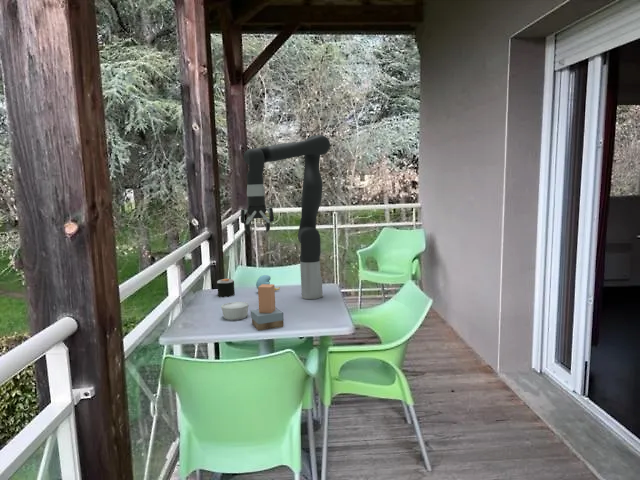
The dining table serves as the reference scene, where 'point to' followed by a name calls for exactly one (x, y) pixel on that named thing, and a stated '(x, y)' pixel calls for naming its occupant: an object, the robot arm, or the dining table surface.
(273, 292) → the terracotta block
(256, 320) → the slate top slab
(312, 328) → the dining table surface
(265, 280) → the toy flower bud
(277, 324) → the walnut base slab
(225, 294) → the sushi
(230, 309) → the ramekin
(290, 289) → the dining table surface
